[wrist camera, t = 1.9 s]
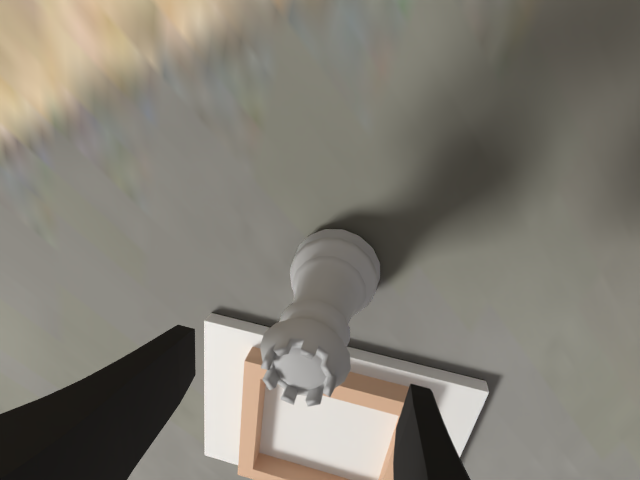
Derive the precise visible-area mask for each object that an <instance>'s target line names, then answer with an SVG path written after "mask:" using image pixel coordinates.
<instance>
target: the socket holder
mask: <svg viewBox="0 0 640 480" xmlns="http://www.w3.org/2000/svg"><path fill="white" fill-rule="evenodd" d="M269 328H270V327H266V326H262V325H258V324H254V323H250V322H246V321H242V320H238V319H234V318H230V317H226V316H222V315H218V314H214V313H210V314H209V315H208V317H207V318H206V319H205V320H204V417H205V455H206V456H209V457H213V458H216V459H219V460H223V461H226V462H229V463H232V464H236V465H238V475H241V476H244V477H248V478H251V479H254V480H394V479H393V458H394V445H395V433H396V427H397V424H398V420H399V417H400V414H401V411H402V408H403V405H404V402H405V399H406V395H407V392H408V389H409V386H410V384H414V385H418V386H422V387H426V388H430V389H431V391H432V392H433V395H434V398H435V400H436V403H437V406H438V408H439V411H440V414H441V416H442V419H443V421H444V424H445V426H446V428H447V431H448V433H449V436H450V438H451V440H452V442H453V444H454V447H455V449H456V451H457V453H458V455H459V457H460V456H461V454H462V451H463V449H464V447H465V445H466V443H467V440H468V438H469V436H470V434H471V431H472V429H473V427H474V425H475V423H476V420H477V418H478V416H479V414H480V411H481V409H482V407H483V405H484V402H485V400H486V398H487V396H488V394H489V390H488V386H487V382H486V381H484V380H480V379H476V378H472V377H468V376H464V375H460V374H456V373H452V372H448V371H444V370H440V369H436V368H431V367H427V366H423V365H419V364H415V363H411V362H407V361H403V360H399V359H395V358H391V357H387V356H383V355H379V354H375V353H371V352H367V351H363V350H359V349H355V348H351V347H346V348H347V350H348V351H349V353H350V365H351V369H350V371H349V373H348V375H347V377H346V379H345V381H344V382H343V383H342V384H340V385H339V386H337V387H336V388H335V389H334V391H333V393H332V395H331V397H329V396H327V395H325V394H324V393H323V396H322V400H321V404H319V405H314V406H309V407H308V406H307V403H306V401H305V400H306V397H307V396H304V395H297V397H296V400H295V403H294V405H292V404H290V403H288V402H285V401H283V400H281V396H282V394H283V391H284V389H283V388H282V387H281V386H280V385H278V384H277V386H276V388H274V389H272V390H270V391H269V389H268V388H267V386H266V384H265V383H264V381H263V377H264V375H265V373H266V371H267V370H266V369H262V368H261V365H262V362H263V361H262V356H261V350H260V344H261V341H262V338H263V336H264V333H265V332H266V331H267V330H268V329H269Z"/></svg>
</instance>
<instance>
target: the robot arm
mask: <svg viewBox="0 0 640 480" xmlns="http://www.w3.org/2000/svg"><path fill="white" fill-rule="evenodd" d="M194 376H195V329H193V328H189V327H185V326H181V325H177V326H175V327H173V328H172V329H170V330H168V331H167V332H165V333H163V334H162V335H160V336H158V337H157V338H155V339H153V340H152V341H150V342H148V343H147V344H145V345H143V346H142V347H140V348H138V349H137V350H135V351H133V352H131V353H130V354H128V355H126V356H125V357H123V358H121V359H119V360H118V361H116V362H114V363H112V364H110V365H108V366H107V367H105V368H103V369H101V370H99V371H97V372H95V373H93V374H92V375H90V376H88V377H86V378H84V379H82V380H80V381H78V382H76V383H74V384H72V385H70V386H67V387H65V388H63V389H61V390H59V391H56V392H54V393H52V394H50V395H47V396H45V397H43V398H40V399H38V400H36V401H33V402H30V403H28V404H25V405H23V406H20V407H18V408H15V409H12V410H10V411H7V412H5V413H2V414H0V480H127V479H128V477H129V475H130V474H131V472H132V471H133V469H134V468H135V466H136V465H137V463H138V462H139V461H140V459H141V458H142V456H143V455H144V454H145V452H146V451H147V449H148V448H149V447H150V445H151V444H152V442H153V441H154V439H155V438H156V437H157V435H158V434H159V432H160V431H161V430H162V428H163V427H164V425H165V424H166V422H167V421H168V420H169V418H170V417H171V415H172V414H173V412H174V411H175V410H176V408H177V407H178V405H179V404H180V402H181V400H182V399H183V397H184V395H185V393H186V391H187V390H188V388H189V386H190V384H191V382H192V380H193V378H194ZM393 479H394V480H470V478H469V476H468V474H467V472H466V470H465V468H464V466H463V464H462V462H461V460H460V457H459V455H458V453H457V451H456V449H455V447H454V444H453V442H452V440H451V438H450V436H449V433H448V431H447V428H446V426H445V424H444V421H443V419H442V416H441V414H440V411H439V408H438V406H437V403H436V400H435V398H434V395H433V392H432V391H431V389H430V388H426V387H422V386H418V385H414V384H410V386H409V389H408V392H407V395H406V399H405V402H404V405H403V408H402V411H401V414H400V417H399V420H398V424H397V427H396V433H395V445H394V458H393Z"/></svg>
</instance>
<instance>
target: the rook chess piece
mask: <svg viewBox="0 0 640 480" xmlns="http://www.w3.org/2000/svg"><path fill="white" fill-rule="evenodd" d="M290 277H291V285H292V289H293V291H294V295H295V296H294V300H293V303H292V304H291V305H290V306H289V307H287V308H286V309H285V310H284V311H283V312H282V315H281V318H280V321H279V322H278V323H275V324H274V325H273V326H272V327H271V328H269V329H268V330H267V331H266V332H265V333H264V336H263V338H262V341H261V344H260V350H261V356H262V361H263V362H262V365H261V368H262V369H266V370H267V371H266V373H265V375H264V377H263V381H264V383H265V384H266V386H267V388H268V389H269V391H270V390H272V389H274V388H276V386H277V384H278V385H280V386H281V387H282V388H283V389H284V391H283V394H282V396H281V400H283V401H285V402H288V403H290V404H292V405H294V403H295V400H296V397H297V395H304V396H307V397H306V400H305V401H306V403H307V406H308V407H309V406H314V405H319V404H321V400H322V396H323V393H324V394H325V395H327V396H329V397H331V395H332V393H333V391H334V389H335V388H336V387H337V386H339V385H340V384H342V383H343V382H344V381H345V379H346V377H347V375H348V373H349V371H350V369H351V365H350V353H349V351H348V350H347V348H346V347H347V345H348V343H349V341H350V327H349V326H348V323H349V321H350V319H351V317H352V316H353V315H355V314H357V313H358V312H360V311H361V310H362V309H363V308H365V307H366V306H367V305H368V304H369V303H370V302H371V300H372V298H373V296H374V294H375V292H376V290H377V284H378V282H379V280H380V262H379V260H378V258H377V256H376V254H375V252H374V249H373V248H372V247H371V246H370V245H369V244H368V243H367V242H366V241H365V240H363V239H362V238H361V237H360V236H358V235H356V234H353V233H351V232H348V231H346V230H343V229H324V230H321V231H319V232H316V233H314V234H311V235H309V236H308V237H307V238H306V239H305V240H304V241H303V242H302V243H301V244H300V245H299V246H298V249H297V252H296V254H295V256H294V259H293V262H292V265H291V268H290Z"/></svg>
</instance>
